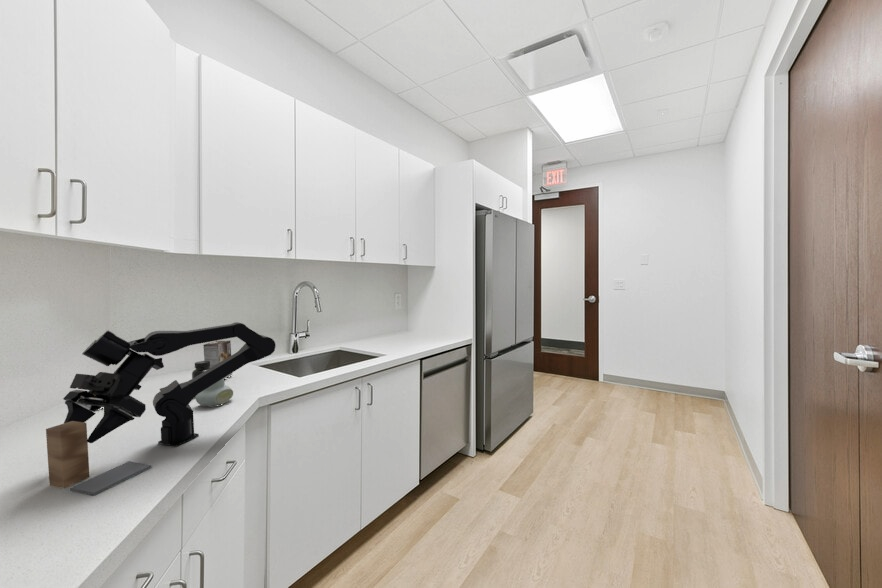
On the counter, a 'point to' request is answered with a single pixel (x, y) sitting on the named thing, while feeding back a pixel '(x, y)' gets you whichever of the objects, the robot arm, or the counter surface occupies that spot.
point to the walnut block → (67, 453)
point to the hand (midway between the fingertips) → (74, 440)
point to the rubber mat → (110, 478)
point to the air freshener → (215, 394)
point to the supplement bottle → (200, 368)
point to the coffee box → (217, 352)
